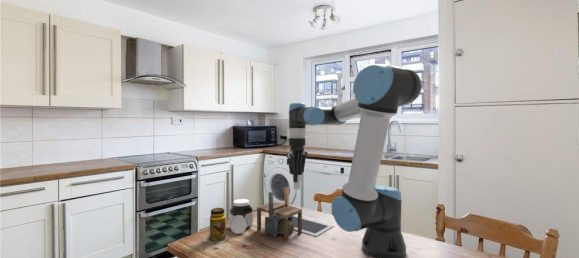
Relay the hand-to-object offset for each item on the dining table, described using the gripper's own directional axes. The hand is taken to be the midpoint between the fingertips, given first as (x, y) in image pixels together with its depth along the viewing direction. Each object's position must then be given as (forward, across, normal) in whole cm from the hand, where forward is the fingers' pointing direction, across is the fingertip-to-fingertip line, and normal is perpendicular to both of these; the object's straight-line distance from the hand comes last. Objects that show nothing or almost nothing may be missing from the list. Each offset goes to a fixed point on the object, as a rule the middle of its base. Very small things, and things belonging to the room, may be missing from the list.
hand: (296, 188), depth 124 cm
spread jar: (+16, +21, -14) cm, 30 cm away
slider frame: (+16, +13, 0) cm, 20 cm away
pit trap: (+16, 0, +2) cm, 16 cm away
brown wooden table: (+16, +13, 0) cm, 20 cm away
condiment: (+16, +34, -14) cm, 40 cm away
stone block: (+16, +12, 0) cm, 20 cm away
